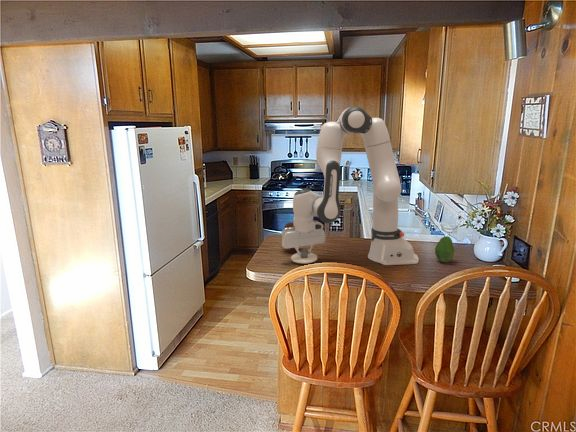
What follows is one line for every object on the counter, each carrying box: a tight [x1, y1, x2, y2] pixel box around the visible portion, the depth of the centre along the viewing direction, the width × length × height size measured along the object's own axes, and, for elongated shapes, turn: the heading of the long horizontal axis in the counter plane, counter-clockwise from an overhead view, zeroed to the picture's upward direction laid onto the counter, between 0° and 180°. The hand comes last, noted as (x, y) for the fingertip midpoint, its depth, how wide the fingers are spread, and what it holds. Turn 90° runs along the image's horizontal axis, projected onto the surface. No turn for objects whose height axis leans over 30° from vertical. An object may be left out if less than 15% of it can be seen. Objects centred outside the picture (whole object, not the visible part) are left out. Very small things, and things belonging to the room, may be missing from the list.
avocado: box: [434, 235, 455, 264], centre depth 164 cm, size 8×8×12 cm
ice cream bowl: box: [283, 221, 297, 254], centre depth 181 cm, size 11×11×15 cm
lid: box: [290, 248, 318, 264], centre depth 169 cm, size 12×12×4 cm
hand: (304, 254), depth 169 cm, fingers closed on lid, 3 cm apart
